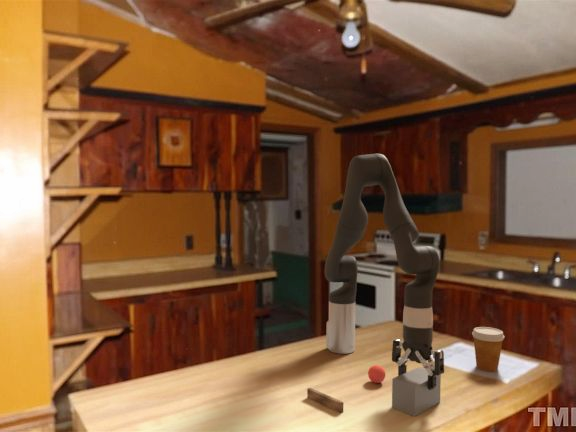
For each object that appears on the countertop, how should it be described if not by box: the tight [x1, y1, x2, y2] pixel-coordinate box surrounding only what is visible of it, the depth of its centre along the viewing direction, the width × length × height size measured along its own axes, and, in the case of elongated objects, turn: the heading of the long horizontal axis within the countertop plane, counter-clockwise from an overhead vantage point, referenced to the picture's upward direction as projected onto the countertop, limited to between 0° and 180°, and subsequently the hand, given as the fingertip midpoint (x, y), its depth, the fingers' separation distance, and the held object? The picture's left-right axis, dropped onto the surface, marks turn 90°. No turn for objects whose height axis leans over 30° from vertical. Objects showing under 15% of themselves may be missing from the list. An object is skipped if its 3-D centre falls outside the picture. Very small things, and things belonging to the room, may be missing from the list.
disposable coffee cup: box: [471, 326, 505, 372], centre depth 154 cm, size 10×10×12 cm
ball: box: [367, 364, 386, 384], centre depth 142 cm, size 5×5×5 cm
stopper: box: [306, 387, 344, 414], centre depth 127 cm, size 12×1×2 cm, turn 42°
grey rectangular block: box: [391, 366, 442, 417], centre depth 128 cm, size 7×12×8 cm, turn 132°
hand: (416, 384), depth 127 cm, fingers open, 8 cm apart
